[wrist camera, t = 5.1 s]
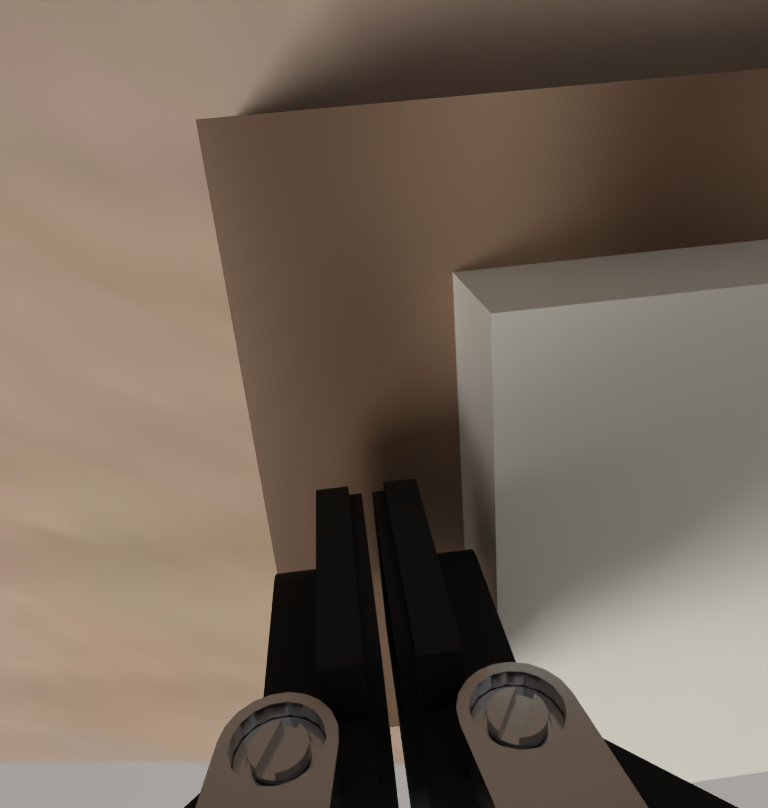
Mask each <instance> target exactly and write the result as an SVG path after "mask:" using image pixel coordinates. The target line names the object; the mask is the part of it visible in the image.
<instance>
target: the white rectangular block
mask: <svg viewBox="0 0 768 808" xmlns="http://www.w3.org/2000/svg"><path fill="white" fill-rule="evenodd" d="M453 295H454V318H455V341H456V364H457V387H458V410H459V433H460V456H461V478H462V501H463V524H464V547H465V550H468V549H472V550H474V552H475V554H476V556H477V559H478V561H479V564H480V567H481V570H482V572H483V575H484V578H485V580H486V583H487V586H488V588H489V591H490V594H491V596H492V599H493V602H494V604H495V607H496V610H497V613H498V615H499V618H500V621H501V623H502V626H503V629H504V631H505V634H506V637H507V639H508V642H509V645H510V647H511V650H512V653H513V656H514V658H515V661H516V662H517V663H526V664H531V665H534V666H537V667H540V668H542V669H545V670H547V671H549V672H550V673H552V674H553V675H555V676H556V677H558V678H560V679H561V680H562V681H563V682H564V683H565V684H566V685H567V687H568V688H569V689H570V690H571V691H572V692H573V694H574V695H575V697H576V698H577V700H578V701H579V703H580V704H581V706H582V707H583V709H584V710H585V712H586V713H587V715H588V716H589V718H590V720H591V721H592V723H593V724H594V726H595V727H596V729H597V730H598V732H599V733H600V735H601V736H602V738H604V739H606V740H608V741H610V742H612V743H614V744H615V745H617V746H619V747H621V748H623V749H625V750H627V751H629V752H631V753H633V754H635V755H637V756H639V757H641V758H643V759H645V760H646V761H648V762H650V763H652V764H654V765H656V766H658V767H660V768H662V769H664V770H666V771H668V772H670V773H672V774H674V775H676V776H677V777H679V778H681V779H683V780H685V781H687V782H689V783H692V782H699V781H705V780H712V779H719V778H725V777H732V776H738V775H745V774H752V773H759V772H766V771H768V239H765V240H756V241H746V242H737V243H727V244H718V245H708V246H698V247H689V248H679V249H670V250H660V251H651V252H641V253H631V254H622V255H612V256H603V257H593V258H584V259H574V260H565V261H555V262H545V263H536V264H526V265H517V266H507V267H498V268H488V269H478V270H469V271H459V272H453Z"/></svg>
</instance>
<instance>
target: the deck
mask: <svg viewBox="0 0 768 808" xmlns="http://www.w3.org/2000/svg"><path fill="white" fill-rule="evenodd" d="M196 123H197V129H198V134H199V140H200V145H201V151H202V156H203V162H204V168H205V173H206V179H207V184H208V190H209V195H210V201H211V206H212V212H213V218H214V223H215V229H216V234H217V240H218V245H219V251H220V256H221V262H222V268H223V273H224V279H225V284H226V290H227V295H228V301H229V306H230V312H231V317H232V323H233V329H234V334H235V340H236V345H237V351H238V356H239V362H240V367H241V373H242V379H243V384H244V390H245V395H246V401H247V406H248V412H249V417H250V423H251V429H252V434H253V440H254V445H255V451H256V456H257V462H258V467H259V473H260V479H261V484H262V490H263V495H264V501H265V506H266V512H267V517H268V523H269V529H270V534H271V540H272V545H273V551H274V556H275V562H276V567H277V573H278V574H279V573H287V572H294V571H302V570H310V569H316V490H321V489H329V488H337V487H345V486H348V489H349V495H350V494H359V493H362V500H363V508H364V516H365V524H366V532H367V540H368V548H369V556H370V565H371V573H372V581H373V589H374V597H375V605H376V613H377V622H378V630H379V638H380V646H381V654H382V663H383V672H384V681H385V690H386V699H387V708H388V717H389V726H390V727H394V726H400V725H399V718H398V711H397V704H396V696H395V689H394V682H393V675H392V668H391V660H390V653H389V646H388V638H387V631H386V622H385V613H384V603H383V594H382V584H381V575H380V565H379V556H378V546H377V537H376V527H375V518H374V508H373V499H372V492H375V491H383V490H384V485H383V482H387V481H395V480H403V479H412V478H415V479H416V481H417V485H418V489H419V492H420V496H421V499H422V503H423V506H424V510H425V513H426V517H427V520H428V524H429V528H430V531H431V535H432V538H433V542H434V545H435V549H436V552H437V553H444V552H452V551H460V550H465V547H464V524H463V501H462V478H461V456H460V433H459V410H458V387H457V364H456V341H455V318H454V295H453V272H459V271H469V270H478V269H488V268H498V267H507V266H517V265H526V264H536V263H545V262H555V261H565V260H574V259H584V258H593V257H603V256H612V255H622V254H631V253H641V252H651V251H660V250H670V249H679V248H689V247H698V246H708V245H718V244H727V243H737V242H746V241H756V240H765V239H768V68H763V69H752V70H741V71H730V72H719V73H708V74H697V75H686V76H674V77H663V78H652V79H641V80H630V81H619V82H608V83H597V84H586V85H575V86H564V87H552V88H541V89H530V90H519V91H508V92H497V93H486V94H475V95H464V96H453V97H442V98H430V99H419V100H408V101H397V102H386V103H375V104H364V105H353V106H342V107H331V108H320V109H308V110H297V111H286V112H275V113H264V114H253V115H242V116H231V117H220V118H209V119H198V120H196Z"/></svg>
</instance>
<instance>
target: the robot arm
mask: <svg viewBox="0 0 768 808" xmlns="http://www.w3.org/2000/svg"><path fill="white" fill-rule="evenodd" d="M383 485H384V490H383V491H375V492H372V499H373V508H374V518H375V527H376V537H377V546H378V556H379V565H380V575H381V584H382V594H383V603H384V613H385V622H386V631H387V638H388V646H389V653H390V660H391V668H392V675H393V682H394V689H395V696H396V704H397V711H398V718H399V725H400V733H401V740H402V747H403V754H404V761H405V769H406V776H407V783H408V790H409V798H410V805H411V808H738V807H735V806H734V805H732V804H730V803H728V802H726V801H724V800H722V799H720V798H718V797H716V796H714V795H712V794H710V793H709V792H707V791H704V790H703V789H701V788H698V787H697V786H695V785H693V784H691V783H689V782H687V781H685V780H683V779H681V778H679V777H677V776H676V775H674V774H672V773H670V772H668V771H666V770H664V769H662V768H660V767H658V766H656V765H654V764H652V763H650V762H648V761H646V760H645V759H643V758H641V757H639V756H637V755H635V754H633V753H631V752H629V751H627V750H625V749H623V748H621V747H619V746H617V745H615V744H614V743H612V742H610V741H608V740H606V739H604V738H602V736H601V735H600V733H599V732H598V730H597V729H596V727H595V726H594V724H593V723H592V721H591V720H590V718H589V716H588V715H587V713H586V712H585V710H584V709H583V707H582V706H581V704H580V703H579V701H578V700H577V698H576V697H575V695H574V694H573V692H572V691H571V690H570V689H569V688H568V687H567V685H566V684H565V683H564V682H563V681H562V680H561V679H560V678H558V677H556V676H555V675H553V674H552V673H550V672H549V671H547V670H545V669H542V668H540V667H537V666H534V665H531V664H526V663H517V662H516V661H515V658H514V656H513V653H512V650H511V647H510V645H509V642H508V639H507V637H506V634H505V631H504V629H503V626H502V623H501V621H500V618H499V615H498V613H497V610H496V607H495V604H494V602H493V599H492V596H491V594H490V591H489V588H488V586H487V583H486V580H485V578H484V575H483V572H482V570H481V567H480V564H479V561H478V559H477V556H476V554H475V552H474V550H472V549H468V550H460V551H452V552H444V553H437V552H436V549H435V545H434V542H433V538H432V535H431V531H430V528H429V524H428V520H427V517H426V513H425V510H424V506H423V503H422V499H421V496H420V492H419V489H418V485H417V481H416V479H415V478H412V479H403V480H395V481H387V482H383ZM184 808H399V807H398V798H397V789H396V780H395V771H394V762H393V753H392V744H391V735H390V726H389V717H388V708H387V699H386V690H385V681H384V672H383V663H382V654H381V646H380V638H379V630H378V622H377V613H376V605H375V597H374V589H373V581H372V573H371V565H370V556H369V548H368V540H367V532H366V524H365V516H364V508H363V500H362V493H359V494H350V495H349V489H348V486H345V487H337V488H329V489H321V490H316V569H310V570H302V571H294V572H287V573H279V574H276V576H275V581H274V591H273V602H272V612H271V623H270V634H269V645H268V655H267V666H266V677H265V688H264V698H261V699H259V700H256V701H254V702H252V703H251V704H249V705H248V706H246V707H245V708H243V709H242V710H240V711H239V712H238V713H237V714H236V715H235V716H234V717H233V718H232V719H231V720H230V721H229V722H228V724H227V725H226V726H225V727H224V729H223V731H222V733H221V735H220V737H219V739H218V741H217V744H216V747H215V750H214V753H213V756H212V759H211V762H210V765H209V768H208V771H207V774H206V777H205V780H204V783H203V786H202V789H201V792H200V794H198V795H197V796H196V797H195V798H194V799H193V800H192V801H191V802H190V803H189V804H188V805H186V806H185V807H184Z"/></svg>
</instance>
